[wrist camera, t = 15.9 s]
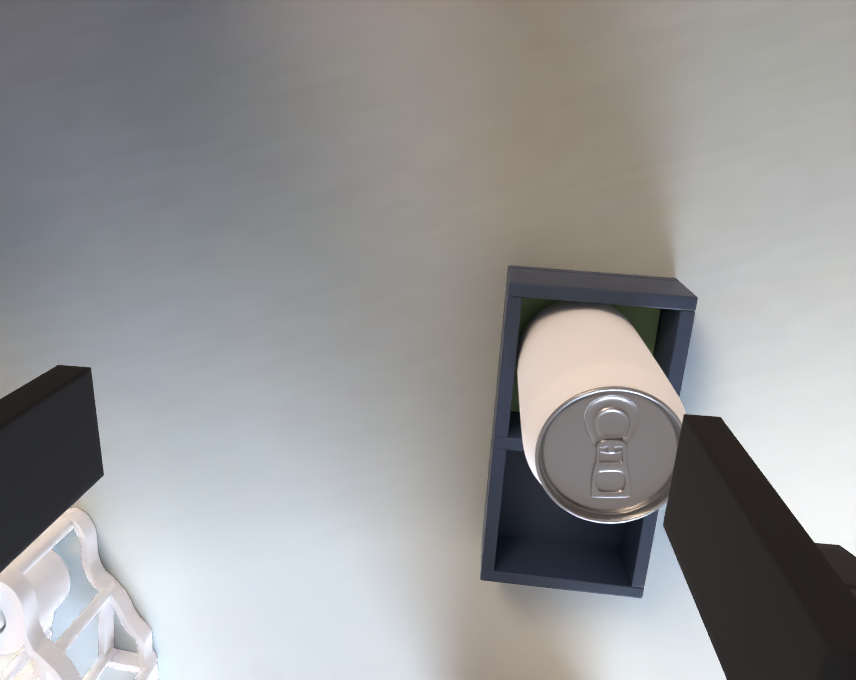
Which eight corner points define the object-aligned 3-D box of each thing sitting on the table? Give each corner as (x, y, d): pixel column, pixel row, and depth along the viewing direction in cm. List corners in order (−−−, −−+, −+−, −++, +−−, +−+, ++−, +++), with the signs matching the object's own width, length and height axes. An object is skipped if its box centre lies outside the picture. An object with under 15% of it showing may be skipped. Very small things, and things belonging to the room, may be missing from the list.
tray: (508, 265, 36) (509, 282, 32) (676, 278, 36) (698, 297, 32) (482, 537, 42) (480, 580, 38) (628, 553, 41) (642, 598, 37)
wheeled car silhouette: (1, 492, 44) (-92, 561, 37) (165, 525, 44) (102, 602, 37) (12, 726, 50) (-66, 823, 43) (156, 758, 50) (100, 860, 43)
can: (640, 292, 35) (707, 373, 24) (637, 408, 37) (697, 533, 26) (514, 297, 36) (520, 378, 25) (517, 410, 38) (525, 534, 27)
